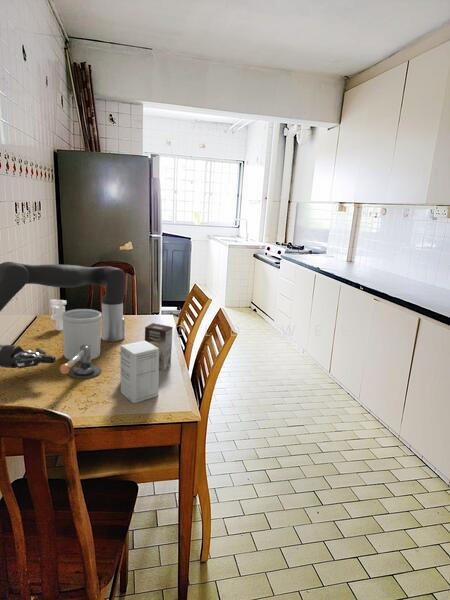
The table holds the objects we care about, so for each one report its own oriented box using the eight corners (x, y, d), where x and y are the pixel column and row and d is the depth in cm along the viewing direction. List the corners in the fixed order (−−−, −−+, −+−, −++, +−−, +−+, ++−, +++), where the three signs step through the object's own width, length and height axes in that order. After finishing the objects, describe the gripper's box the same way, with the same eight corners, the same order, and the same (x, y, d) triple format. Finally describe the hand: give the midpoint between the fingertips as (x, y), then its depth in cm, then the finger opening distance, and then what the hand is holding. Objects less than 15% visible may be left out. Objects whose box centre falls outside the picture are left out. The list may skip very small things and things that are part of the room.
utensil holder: (109, 353, 162) (109, 312, 158) (83, 364, 149) (82, 320, 145) (82, 346, 168) (81, 306, 164) (54, 356, 155) (53, 314, 151)
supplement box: (145, 385, 135) (146, 339, 131) (159, 396, 128) (160, 347, 125) (119, 392, 129) (119, 344, 125) (132, 404, 122) (133, 353, 118)
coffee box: (143, 366, 151) (143, 326, 147) (151, 360, 157) (152, 322, 153) (164, 370, 148) (165, 330, 145) (171, 365, 154) (173, 326, 151)
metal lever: (79, 367, 144) (78, 343, 142) (97, 368, 144) (97, 345, 142) (52, 392, 125) (51, 364, 123) (74, 393, 124) (73, 366, 122)
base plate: (77, 365, 148) (77, 364, 148) (105, 367, 148) (105, 366, 147) (64, 377, 137) (64, 376, 137) (95, 379, 137) (95, 378, 137)
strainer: (49, 328, 188) (48, 298, 185) (65, 326, 192) (64, 297, 189) (53, 332, 183) (52, 301, 179) (69, 330, 187) (68, 300, 183)
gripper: (16, 359, 138) (63, 362, 138) (-8, 374, 126) (45, 378, 125) (14, 339, 137) (63, 342, 136) (-10, 352, 124) (44, 356, 123)
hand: (54, 359), depth 131 cm, fingers closed
